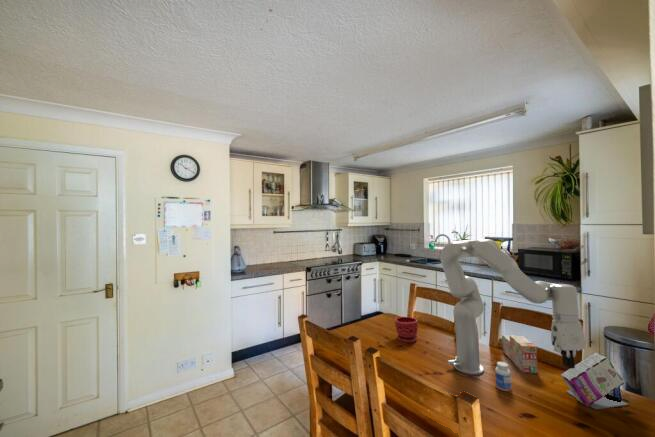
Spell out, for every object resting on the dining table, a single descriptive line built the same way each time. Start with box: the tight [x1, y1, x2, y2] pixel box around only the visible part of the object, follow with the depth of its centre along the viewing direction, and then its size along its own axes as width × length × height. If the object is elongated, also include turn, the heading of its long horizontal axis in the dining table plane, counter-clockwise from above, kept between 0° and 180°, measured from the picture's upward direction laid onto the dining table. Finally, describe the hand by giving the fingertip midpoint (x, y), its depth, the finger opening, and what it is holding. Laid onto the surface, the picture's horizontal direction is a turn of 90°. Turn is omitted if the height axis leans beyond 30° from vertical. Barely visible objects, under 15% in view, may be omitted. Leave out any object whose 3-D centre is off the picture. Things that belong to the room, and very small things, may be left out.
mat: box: [565, 389, 629, 410], centre depth 107 cm, size 14×11×1 cm
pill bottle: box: [494, 361, 512, 392], centre depth 115 cm, size 6×5×10 cm
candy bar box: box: [560, 352, 626, 407], centre depth 104 cm, size 11×5×16 cm
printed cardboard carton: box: [501, 334, 538, 374], centre depth 137 cm, size 21×6×12 cm, turn 169°
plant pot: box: [394, 316, 419, 343], centre depth 167 cm, size 13×13×12 cm
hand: (568, 366), depth 105 cm, fingers closed
